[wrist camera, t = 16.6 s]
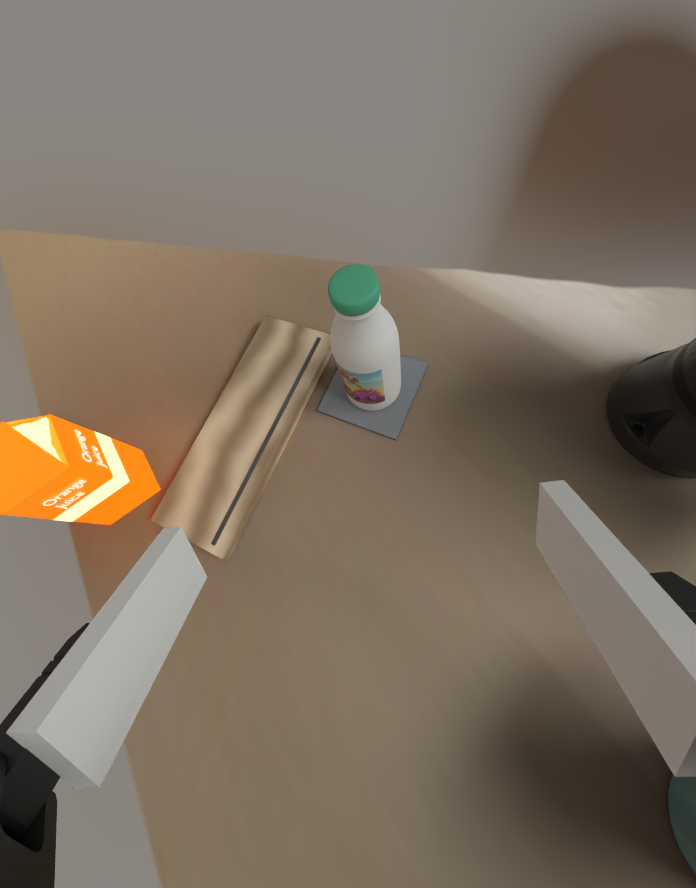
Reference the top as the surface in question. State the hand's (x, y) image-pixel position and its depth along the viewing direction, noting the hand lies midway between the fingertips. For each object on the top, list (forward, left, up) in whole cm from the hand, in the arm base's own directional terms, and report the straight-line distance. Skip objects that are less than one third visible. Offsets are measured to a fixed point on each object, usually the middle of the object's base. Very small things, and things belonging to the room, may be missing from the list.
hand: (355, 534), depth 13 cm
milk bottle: (+11, -19, -31) cm, 38 cm away
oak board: (+25, -7, -32) cm, 41 cm away
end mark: (+11, -19, -32) cm, 38 cm away
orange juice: (+39, +8, -32) cm, 51 cm away
